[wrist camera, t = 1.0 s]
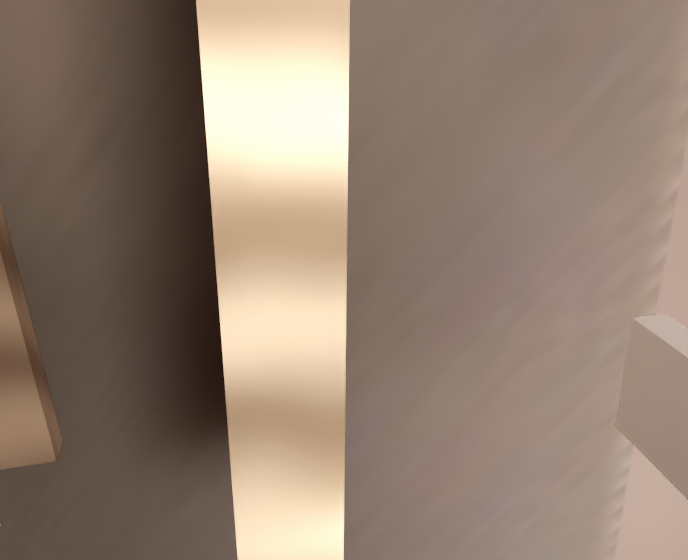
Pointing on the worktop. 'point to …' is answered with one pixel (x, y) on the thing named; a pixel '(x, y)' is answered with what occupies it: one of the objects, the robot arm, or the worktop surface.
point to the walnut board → (22, 375)
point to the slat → (281, 262)
